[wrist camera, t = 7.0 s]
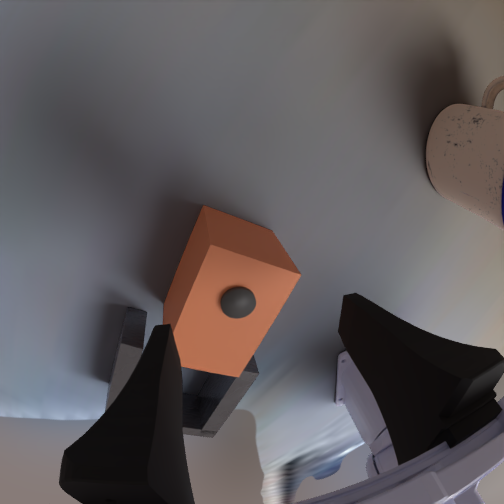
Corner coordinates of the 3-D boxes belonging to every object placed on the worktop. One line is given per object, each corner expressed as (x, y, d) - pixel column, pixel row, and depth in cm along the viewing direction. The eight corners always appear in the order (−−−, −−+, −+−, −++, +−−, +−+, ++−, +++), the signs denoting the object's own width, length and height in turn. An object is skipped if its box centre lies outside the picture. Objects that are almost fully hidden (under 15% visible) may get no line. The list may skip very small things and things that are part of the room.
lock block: (225, 319, 24) (239, 380, 18) (163, 303, 22) (161, 365, 17) (271, 230, 21) (303, 277, 16) (203, 204, 20) (211, 247, 14)
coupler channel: (208, 405, 28) (212, 437, 25) (108, 384, 25) (104, 418, 21) (248, 338, 25) (259, 373, 22) (128, 306, 22) (121, 343, 18)
